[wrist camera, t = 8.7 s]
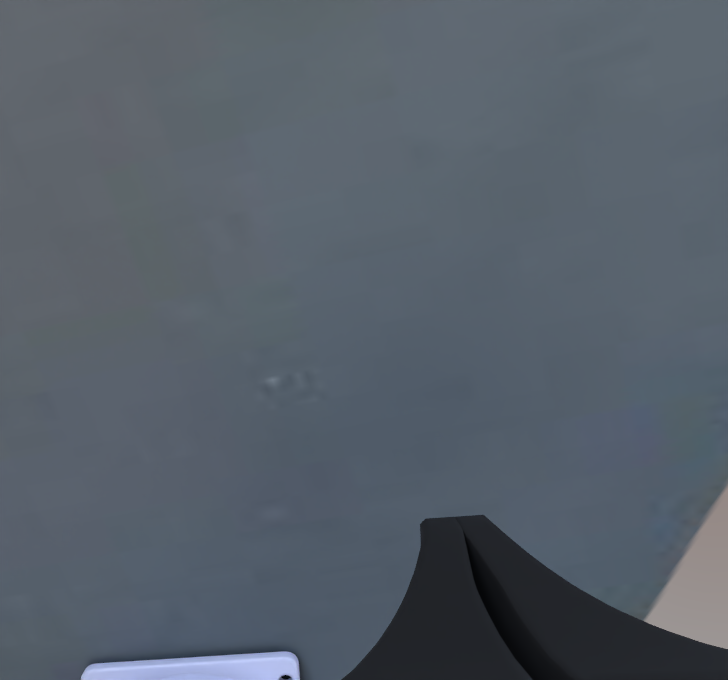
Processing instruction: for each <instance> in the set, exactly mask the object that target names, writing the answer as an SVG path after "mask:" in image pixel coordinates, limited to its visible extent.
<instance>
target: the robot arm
mask: <svg viewBox="0 0 728 680" xmlns="http://www.w3.org/2000/svg"><path fill="white" fill-rule="evenodd" d="M420 532H421V548H420V553H419V557H418V561H417V564H416V568H415V571H414V574H413V577H412V579H411V582H410V585H409V587H408V590H407V592H406V595H405V597H404V599H403V601H402V603H401V605H400V607H399V609H398V611H397V613H396V615H395V616H394V618H393V620H392V621H391V623H390V625H389V626H388V628H387V629H386V631H385V632H384V634H383V635H382V637H381V638H380V639H379V641H378V642H377V644H376V645H375V646H374V647H373V648H372V650H371V651H370V652H369V653H368V654H367V655H366V656H365V658H364V659H363V660H362V661H361V662H360V663H359V664H358V665H357V667H356V668H355V669H354V670H353V671H351V672H350V673H349V674H348V675H347V676H345V677H344V678H343V679H342V680H728V649H724V648H720V647H716V646H712V645H708V644H705V643H702V642H698V641H695V640H692V639H689V638H687V637H684V636H681V635H678V634H675V633H672V632H669V631H666V630H664V629H661V628H659V627H656V626H653V625H651V624H648V623H646V622H644V621H642V620H639V619H637V618H635V617H633V616H630V615H628V614H626V613H624V612H621V611H619V610H617V609H615V608H613V607H611V606H609V605H607V604H605V603H603V602H602V601H600V600H598V599H596V598H594V597H593V596H591V595H589V594H587V593H586V592H584V591H582V590H580V589H579V588H577V587H575V586H574V585H572V584H571V583H569V582H567V581H566V580H565V579H563V578H562V577H560V576H559V575H557V574H556V573H554V572H553V571H551V570H550V569H548V568H547V567H546V566H544V565H543V564H542V563H540V562H539V561H538V560H536V559H535V558H534V557H532V556H531V555H530V554H529V553H527V552H526V551H525V550H524V549H522V548H521V547H520V546H519V545H518V544H516V543H515V542H514V541H513V540H512V539H510V538H509V537H508V536H507V535H506V534H505V533H503V532H502V531H501V530H500V529H499V528H498V527H497V526H496V525H494V524H493V523H492V522H491V521H490V520H489V519H488V518H486V517H485V516H484V515H476V516H461V517H445V518H430V519H425V520H424V521H423V522H422V523H421V524H420ZM283 675H289V676H290V677H291V678H290V679H283V678H282V677H281V676H283ZM81 680H300V670H299V661H298V658H297V657H296V656H295V654H293V653H291V652H286V651H282V652H267V653H251V654H236V655H220V656H204V657H189V658H173V659H158V660H142V661H127V662H111V663H95V664H91V665H89V666H88V667H86V669H85V671H84V673H83V674H82V676H81Z"/></svg>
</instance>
